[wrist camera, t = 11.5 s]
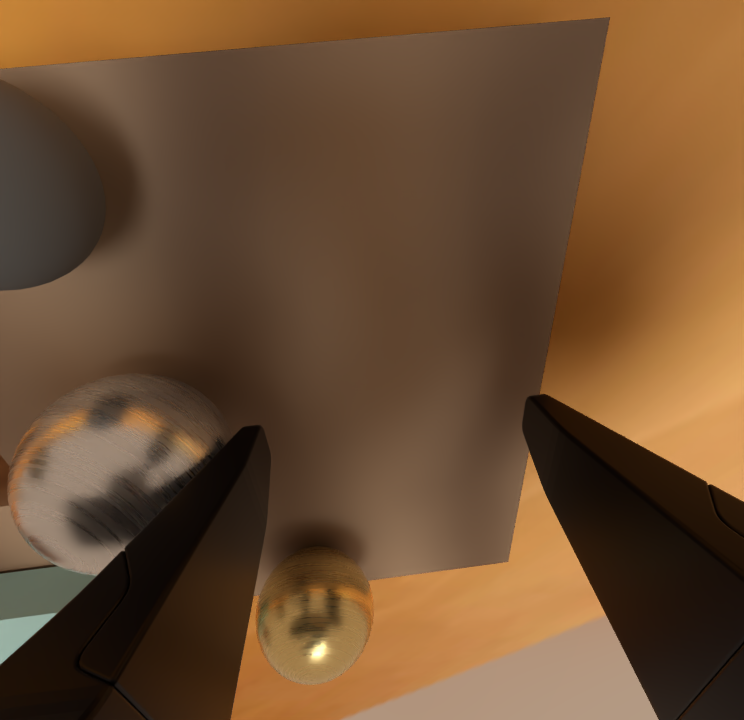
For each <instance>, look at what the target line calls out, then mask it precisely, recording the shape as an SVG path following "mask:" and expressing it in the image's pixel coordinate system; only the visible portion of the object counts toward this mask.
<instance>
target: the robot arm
mask: <svg viewBox="0 0 744 720" xmlns="http://www.w3.org/2000/svg"><path fill="white" fill-rule="evenodd" d="M522 431H523V435H524V437H525V440H526V443H527V446H528V448H529V451H530V454H531V456H532V459H533V462H534V465H535V467H536V470H537V473H538V476H539V478H540V481H541V484H542V486H543V489H544V491H545V494H546V496H547V498H548V500H549V502H550V504H551V506H552V508H553V510H554V512H555V514H556V516H557V518H558V520H559V522H560V524H561V526H562V528H563V530H564V532H565V534H566V536H567V538H568V540H569V542H570V544H571V546H572V548H573V550H574V552H575V554H576V556H577V558H578V560H579V562H580V564H581V566H582V568H583V570H584V572H585V574H586V576H587V578H588V580H589V582H590V584H591V586H592V588H593V590H594V592H595V594H596V596H597V598H598V600H599V602H600V604H601V606H602V608H603V610H604V612H605V614H606V616H607V618H608V620H609V622H610V624H611V625H612V628H613V630H614V631H615V633H616V636H617V638H618V640H619V641H620V643H621V645H622V647H623V649H624V651H625V653H626V655H627V657H628V659H629V661H630V663H631V665H632V667H633V669H634V671H635V673H636V675H637V677H638V679H639V681H640V683H641V685H642V687H643V689H644V691H645V693H646V695H647V697H648V699H649V701H650V703H651V705H652V707H653V709H654V711H655V713H656V715H657V717H658V719H659V720H744V502H743V501H741V500H739V499H737V498H736V497H734V496H732V495H730V494H728V493H726V492H725V491H723V490H721V489H719V488H717V487H715V486H714V485H711V484H710V485H708V484H707V482H706V481H704V480H702V479H701V478H699V477H697V476H695V475H693V474H691V473H690V472H688V471H686V470H684V469H682V468H680V467H679V466H677V465H675V464H673V463H671V462H669V461H668V460H666V459H664V458H662V457H660V456H658V455H657V454H655V453H653V452H651V451H649V450H647V449H646V448H644V447H642V446H640V445H638V444H636V443H635V442H633V441H631V440H629V439H627V438H625V437H624V436H622V435H620V434H618V433H616V432H614V431H613V430H611V429H609V428H607V427H605V426H603V425H602V424H600V423H598V422H596V421H594V420H593V419H591V418H589V417H587V416H585V415H583V414H582V413H580V412H578V411H576V410H574V409H572V408H571V407H569V406H567V405H565V404H563V403H561V402H560V401H558V400H556V399H554V398H552V397H550V396H548V395H546V394H541V395H532V396H529V397H527V399H526V401H525V407H524V414H523V420H522ZM270 470H271V453H270V449H269V445H268V442H267V438H266V435H265V431H264V429H263V427H262V426H261V425H252V426H244V427H242V428H241V429H240V430H239V431H238V432H237V433H236V434H235V435H234V436H233V437H232V438H231V439H230V440H229V441H228V442H227V443H226V444H225V445H224V446H223V447H222V448H221V449H220V450H219V451H218V452H217V454H216V455H215V456H214V457H213V458H212V459H211V460H210V461H209V462H208V463H207V464H206V465H205V466H204V467H203V468H202V469H201V470H200V471H199V472H198V473H197V474H196V475H195V476H194V477H193V478H192V479H191V480H190V481H189V482H188V483H187V484H186V485H185V486H184V487H183V488H182V489H181V490H180V491H179V492H178V493H177V494H176V495H175V496H174V497H173V498H172V500H171V501H170V502H169V503H168V504H167V505H166V506H165V507H164V508H163V509H162V510H161V511H160V512H159V513H158V514H157V515H156V516H155V517H154V518H153V519H152V520H151V521H150V522H149V523H148V524H147V525H146V526H145V527H144V528H143V529H142V530H141V531H140V532H139V533H138V534H137V535H136V536H135V537H134V538H133V539H132V540H131V541H130V542H129V543H128V544H127V546H126V547H125V548H124V550H125V551H121V552H119V553H118V555H117V556H116V557H115V558H114V559H113V560H112V561H111V562H110V563H109V564H108V565H107V566H106V567H105V568H104V569H103V570H102V571H101V572H100V573H99V574H98V575H97V576H96V577H95V578H94V579H93V580H92V581H91V582H90V583H89V584H88V585H87V586H86V587H84V588H83V589H82V590H81V591H80V592H79V593H78V594H77V595H76V596H75V597H74V598H73V599H72V600H71V601H70V602H69V603H68V604H67V605H65V606H64V607H63V608H62V609H61V610H60V611H59V612H58V613H57V614H56V615H55V616H54V617H52V618H51V619H50V620H49V621H48V622H47V623H46V624H45V625H44V626H43V627H42V628H40V629H39V630H38V631H37V632H36V633H35V634H34V635H33V636H32V637H30V638H29V639H28V640H27V641H26V642H25V643H24V644H23V645H21V646H20V647H19V648H18V649H17V650H16V651H15V652H14V653H13V654H11V655H10V656H9V657H8V658H7V659H6V660H5V661H4V662H3V663H1V664H0V720H230V719H231V714H232V708H233V703H234V698H235V692H236V687H237V681H238V676H239V671H240V665H241V660H242V655H243V649H244V644H245V639H246V633H247V628H248V623H249V617H250V612H251V607H252V601H253V596H254V591H255V585H256V580H257V575H258V569H259V564H260V559H261V553H262V548H263V543H264V537H265V532H266V525H267V515H268V500H269V485H270Z"/></svg>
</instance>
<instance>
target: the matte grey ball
mask: <svg viewBox="0 0 744 720" xmlns="http://www.w3.org/2000/svg"><path fill="white" fill-rule="evenodd" d="M105 215H106V203H105V194H104V190H103V185H102V182H101V179H100V176H99V173H98V170H97V168H96V166H95V164H94V162H93V160H92V158H91V157H90V155H89V153H88V152H87V150H86V148H85V147H84V146H83V144H82V143H81V142H80V140H79V139H78V137H77V136H76V135H75V134H74V133H73V132H72V131H71V129H70V128H69V127H68V126H67V125H66V124H65V123H64V122H63V121H62V120H61V119H60V118H59V117H58V116H57V115H56V114H55V113H53V112H52V111H51V110H50V109H48V108H47V107H46V106H45V105H43V104H42V103H41V102H39V101H38V100H36V99H35V98H33V97H32V96H30V95H28V94H27V93H25V92H24V91H22V90H21V89H19V88H17V87H15V86H13V85H11V84H9V83H7V82H5V81H4V80H1V79H0V291H6V290H20V289H26V288H32V287H36V286H40V285H43V284H46V283H49V282H52V281H54V280H56V279H58V278H60V277H62V276H64V275H66V274H68V273H70V272H71V271H73V270H74V269H75V268H77V267H78V266H79V265H80V264H82V263H83V262H84V261H85V260H86V258H87V257H88V256H89V255H90V254H91V252H92V251H93V249H94V248H95V246H96V245H97V243H98V241H99V239H100V236H101V234H102V231H103V226H104V222H105Z"/></svg>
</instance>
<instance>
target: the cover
mask: <svg viewBox="0 0 744 720" xmlns="http://www.w3.org/2000/svg"><path fill="white" fill-rule="evenodd" d="M95 577H96V576H93V575H84V574H80V573H76V572H73V571H69V570H66V569H63V568H61V567H58V566H57V567H49V568H41V569H34V570H26V571H18V572H11V573H3V574H0V664H1V663H3V662H4V661H5V660H6V659H7V658H8V657H9V656H10V655H11V654H13V653H14V652H15V651H16V650H17V649H18V648H19V647H20V646H21V645H23V644H24V643H25V642H26V641H27V640H28V639H29V638H30V637H32V636H33V635H34V634H35V633H36V632H37V631H38V630H39V629H40V628H42V627H43V626H44V625H45V624H46V623H47V622H48V621H49V620H50V619H51V618H52V617H54V616H55V615H56V614H57V613H58V612H59V611H60V610H61V609H62V608H63V607H64V606H65V605H67V604H68V603H69V602H70V601H71V600H72V599H73V598H74V597H75V596H76V595H77V594H78V593H79V592H80V591H81V590H82V589H83V588H84V587H86V586H87V585H88V584H89V583H90V582H91V581H92V580H93V579H94V578H95Z"/></svg>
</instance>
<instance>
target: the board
mask: <svg viewBox="0 0 744 720" xmlns="http://www.w3.org/2000/svg"><path fill="white" fill-rule="evenodd" d="M609 20H610V17H608V18H596V19H585V20H573V21H561V22H549V23H537V24H526V25H514V26H502V27H490V28H478V29H466V30H455V31H443V32H431V33H419V34H407V35H396V36H384V37H372V38H360V39H348V40H337V41H325V42H313V43H301V44H289V45H278V46H266V47H254V48H242V49H230V50H219V51H207V52H195V53H183V54H171V55H160V56H148V57H136V58H124V59H112V60H101V61H89V62H77V63H65V64H53V65H42V66H30V67H18V68H6V69H0V79H1V80H4V81H5V82H7V83H9V84H11V85H13V86H15V87H17V88H19V89H21V90H22V91H24V92H25V93H27V94H28V95H30V96H32V97H33V98H35V99H36V100H38V101H39V102H41V103H42V104H43V105H45V106H46V107H47V108H48V109H50V110H51V111H52V112H53V113H55V114H56V115H57V116H58V117H59V118H60V119H61V120H62V121H63V122H64V123H65V124H66V125H67V126H68V127H69V128H70V129H71V131H72V132H73V133H74V134H75V135H76V136H77V137H78V139H79V140H80V142H81V143H82V144H83V146H84V147H85V148H86V150H87V152H88V153H89V155H90V157H91V158H92V160H93V162H94V164H95V166H96V168H97V170H98V173H99V176H100V179H101V182H102V185H103V190H104V194H105V203H106V215H105V222H104V226H103V231H102V234H101V236H100V239H99V241H98V243H97V245H96V246H95V248H94V249H93V251H92V252H91V254H90V255H89V256H88V257H87V258H86V260H85V261H84V262H83V263H82V264H80V265H79V266H78V267H77V268H75V269H74V270H73V271H71V272H70V273H68V274H66V275H64V276H62V277H60V278H58V279H56V280H54V281H52V282H49V283H46V284H43V285H40V286H36V287H32V288H26V289H20V290H6V291H0V574H3V573H11V572H18V571H26V570H34V569H41V568H49V567H57V566H56V565H54V564H52V563H51V562H49V561H47V560H46V559H44V558H43V557H41V556H40V555H39V554H38V553H36V552H35V551H34V550H33V549H32V548H31V547H30V546H29V545H28V543H27V542H26V541H25V540H24V538H23V537H22V536H21V534H20V533H19V531H18V529H17V527H16V525H15V523H14V521H13V519H12V516H11V512H10V507H9V503H8V492H7V482H8V475H9V468H10V465H11V462H12V459H13V456H14V453H15V451H16V448H17V446H18V444H19V443H20V441H21V439H22V437H23V435H24V434H25V432H26V431H27V430H28V428H29V427H30V426H31V424H32V423H33V422H34V421H35V420H36V418H37V417H38V416H39V415H40V414H41V413H42V412H43V411H44V410H45V409H46V408H47V407H49V406H50V405H51V404H53V403H54V402H55V401H56V400H58V399H59V398H61V397H62V396H64V395H66V394H67V393H69V392H71V391H72V390H74V389H76V388H78V387H80V386H82V385H85V384H87V383H89V382H92V381H95V380H99V379H102V378H105V377H109V376H116V375H122V374H152V375H159V376H165V377H169V378H172V379H175V380H177V381H180V382H183V383H185V384H187V385H189V386H191V387H193V388H195V389H196V390H198V391H199V392H201V393H202V394H203V395H204V396H206V397H207V398H208V399H209V400H210V401H211V402H212V403H213V404H214V405H215V406H216V407H217V408H218V410H219V411H220V412H221V414H222V415H223V417H224V419H225V420H226V422H227V424H228V426H229V428H230V431H231V434H232V437H233V436H234V435H235V434H236V433H237V432H238V431H239V430H240V429H241V428H242V427H244V426H252V425H261V426H262V427H263V429H264V431H265V435H266V438H267V442H268V445H269V449H270V453H271V470H270V485H269V500H268V515H267V525H266V532H265V537H264V543H263V548H262V553H261V559H260V564H259V569H258V575H257V580H256V585H255V591H254V596H257V595H260V593H261V590H262V588H263V586H264V584H265V582H266V580H267V578H268V577H269V575H270V574H271V572H272V571H273V570H274V569H275V568H276V566H277V565H278V564H279V563H280V562H281V561H283V560H284V559H285V558H286V557H288V556H289V555H291V554H293V553H295V552H297V551H299V550H301V549H305V548H309V547H317V546H321V547H329V548H333V549H336V550H339V551H341V552H343V553H345V554H346V555H348V556H349V557H350V558H351V559H353V560H354V561H355V562H356V563H357V564H358V566H359V567H360V568H361V569H362V571H363V573H364V574H365V576H366V578H367V580H368V581H369V580H377V579H384V578H392V577H399V576H406V575H414V574H421V573H429V572H436V571H444V570H451V569H459V568H466V567H474V566H481V565H488V564H496V563H503V562H508V559H509V554H510V549H511V543H512V538H513V533H514V527H515V522H516V517H517V511H518V506H519V501H520V495H521V490H522V485H523V479H524V474H525V469H526V463H527V458H528V453H529V448H528V446H527V443H526V440H525V437H524V435H523V431H522V420H523V414H524V407H525V401H526V399H527V397H529V396H532V395H539V394H540V389H541V383H542V378H543V372H544V367H545V362H546V356H547V351H548V346H549V340H550V335H551V330H552V324H553V319H554V314H555V308H556V303H557V298H558V292H559V287H560V282H561V276H562V271H563V266H564V260H565V255H566V250H567V244H568V239H569V234H570V228H571V223H572V218H573V212H574V207H575V202H576V196H577V191H578V186H579V180H580V175H581V170H582V164H583V159H584V154H585V148H586V143H587V138H588V132H589V127H590V122H591V116H592V111H593V105H594V100H595V95H596V89H597V84H598V79H599V73H600V68H601V63H602V57H603V52H604V47H605V41H606V36H607V31H608V25H609Z"/></svg>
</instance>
